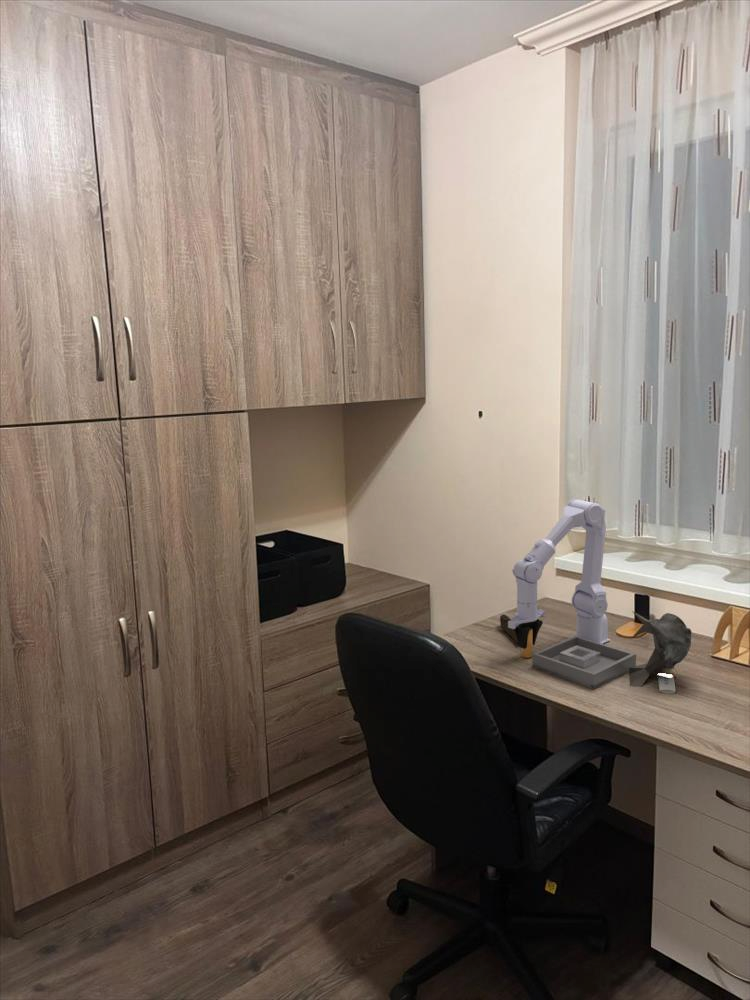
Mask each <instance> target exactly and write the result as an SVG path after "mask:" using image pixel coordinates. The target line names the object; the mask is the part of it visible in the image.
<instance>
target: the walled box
mask: <svg viewBox="0 0 750 1000" xmlns="http://www.w3.org/2000/svg"><path fill="white" fill-rule="evenodd" d="M576 645H577V646H581V647H584V648H587V649H590V650H593V651H597V652H600V653H601V658H600V662H598V663H595V664H593V665H591V666H589V667H587V668H585V669H582V668H579V667H576V666H573V665H570V664H567V663H564V662H561V661H560V652H562V651H565V650H567V649H569V648H571V647H574V646H576ZM634 666H637V654H636V653H634V652H632V651H631V652H630V651H627V650H624V649H621V648H618V647H613V646H611V645H608V644H605V643H604V644H601V643H598V642H595V641H591V640H588V639H585V638H581V637H578V636H577V635H573V636H571V637H569V638H567V639H564V640H562V641H559V642H557V643H555V644H552V645H550V646H548V647H545V648H543V649H541V650H539V651H536V652H533V656H532V668H533V669H537V670H540V671H542V672H544V673H548V674H551V675H554V676H556V677H560V678H561V679H564V680H566V681H567V680H568V681H570V682H573V683H575V684H578V685H581V686H584V687H587V688H589V689H592V690H595V689H597V688H599V687H601V686H603V685H605V684H607V683H608V682H611V681H613V680H615V679H616V678H619V677H621V676H623V675H624V674H626V673H629V667H634Z"/></svg>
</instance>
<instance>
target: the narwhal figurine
mask: <svg viewBox="0 0 750 1000" xmlns="http://www.w3.org/2000/svg"><path fill="white" fill-rule="evenodd" d="M631 612H632V613H633V614H634V616H635V617H637V619H638V620H639V621H640V622H641V623H642V624H643V625H641V627H640V628H639V629H638V630H637V631H636V632H635V633H634V634H633V636H631V638H630V639H631V640H632V639H633V638H636V637H637V636H640V635H642V634H644V633H648V634H650V635H652V636H653V643H654V644H653V645H654V649H653V651H652V653H651V655H650V657H649V659H648V660H647V661H648V662H646V663H643V664H637V665H636V666H634V667H629V671H628V677H629V678H628V679H629V686H631V687H638V688H639V687H642V686H643V685H644V683H645V682H646V680H647V679H648V678H649V676H656V675H657V674H658V673H666V674H672V675H673V676H674V677H675V666H676V665H677V664H679V663H681V662H682V661H683V660H684V659H685V658H686V657H687V655H688V653H689V652H690V648H691V646H692V629H690V628H688V627H687V625H686V623H685V622H684V621H683V620H682V619H681V617H679V616H678V615H677V614H676V615H675V613H669V612H667V613H664V614H662V615H661V617H660V618H654V619H650V620H649V619H647V618H645V617H644V616H642V615H641V614H639V613H636V612H635V611H633V610H631Z"/></svg>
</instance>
